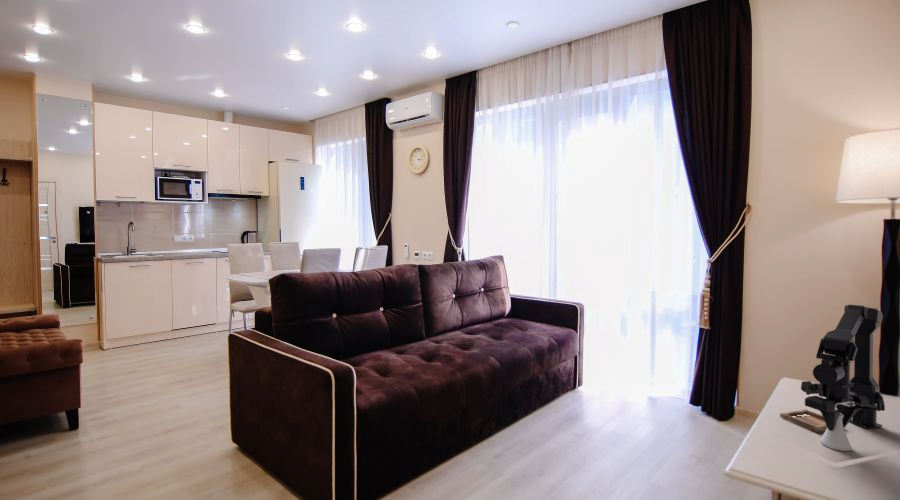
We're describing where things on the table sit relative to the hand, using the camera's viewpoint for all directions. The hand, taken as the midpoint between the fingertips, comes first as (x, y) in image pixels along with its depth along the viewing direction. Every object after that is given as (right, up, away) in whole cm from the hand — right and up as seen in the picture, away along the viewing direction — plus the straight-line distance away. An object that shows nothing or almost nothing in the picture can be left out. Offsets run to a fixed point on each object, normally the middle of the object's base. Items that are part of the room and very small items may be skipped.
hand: (836, 429), depth 135 cm
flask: (0, -5, 0) cm, 5 cm away
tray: (+6, -5, +16) cm, 18 cm away
